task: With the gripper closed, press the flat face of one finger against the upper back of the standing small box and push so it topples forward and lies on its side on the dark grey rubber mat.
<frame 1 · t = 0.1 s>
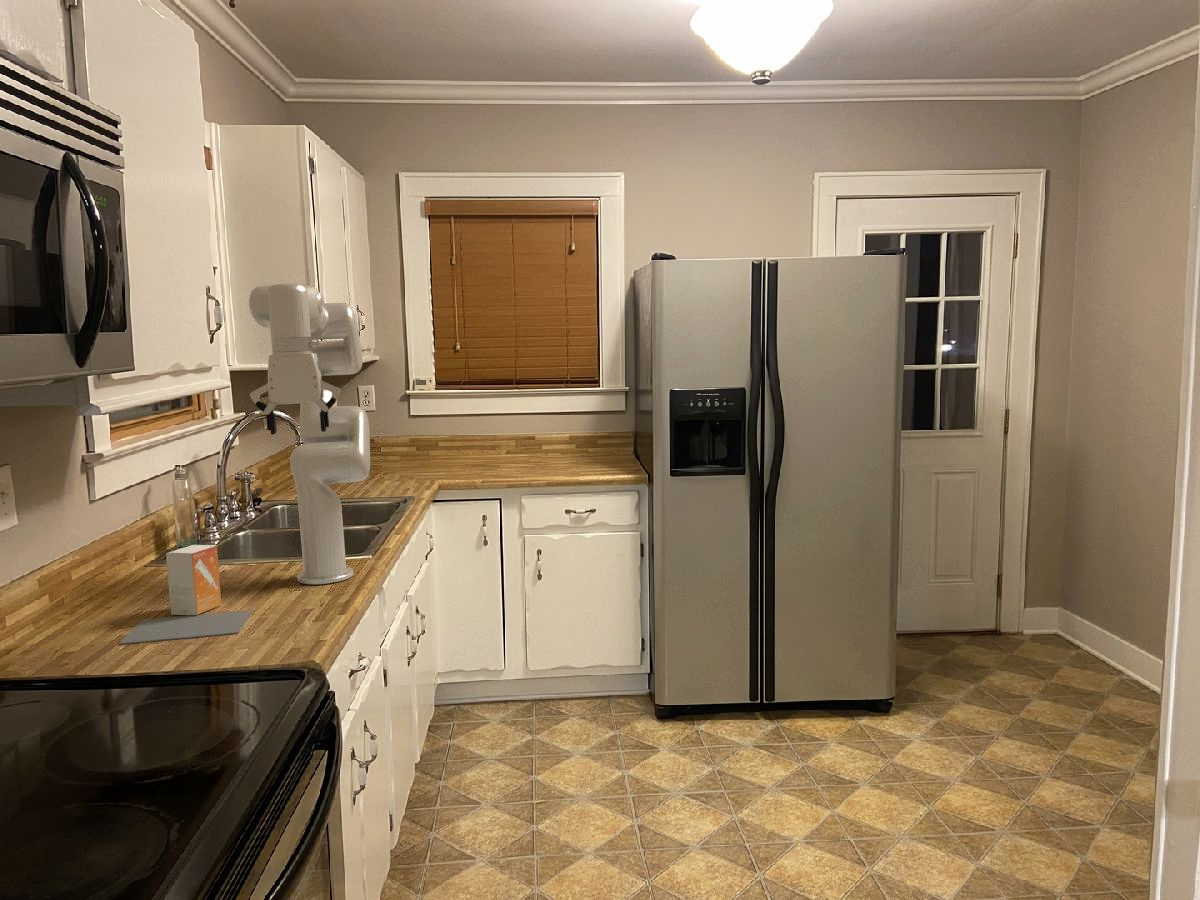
hand: (298, 432, 178), 37 cm above the worktop, tool pointing down, fingers open, 9 cm apart
small box: (197, 611, 184), on the worktop, touching mat
mat: (188, 627, 173), on the worktop
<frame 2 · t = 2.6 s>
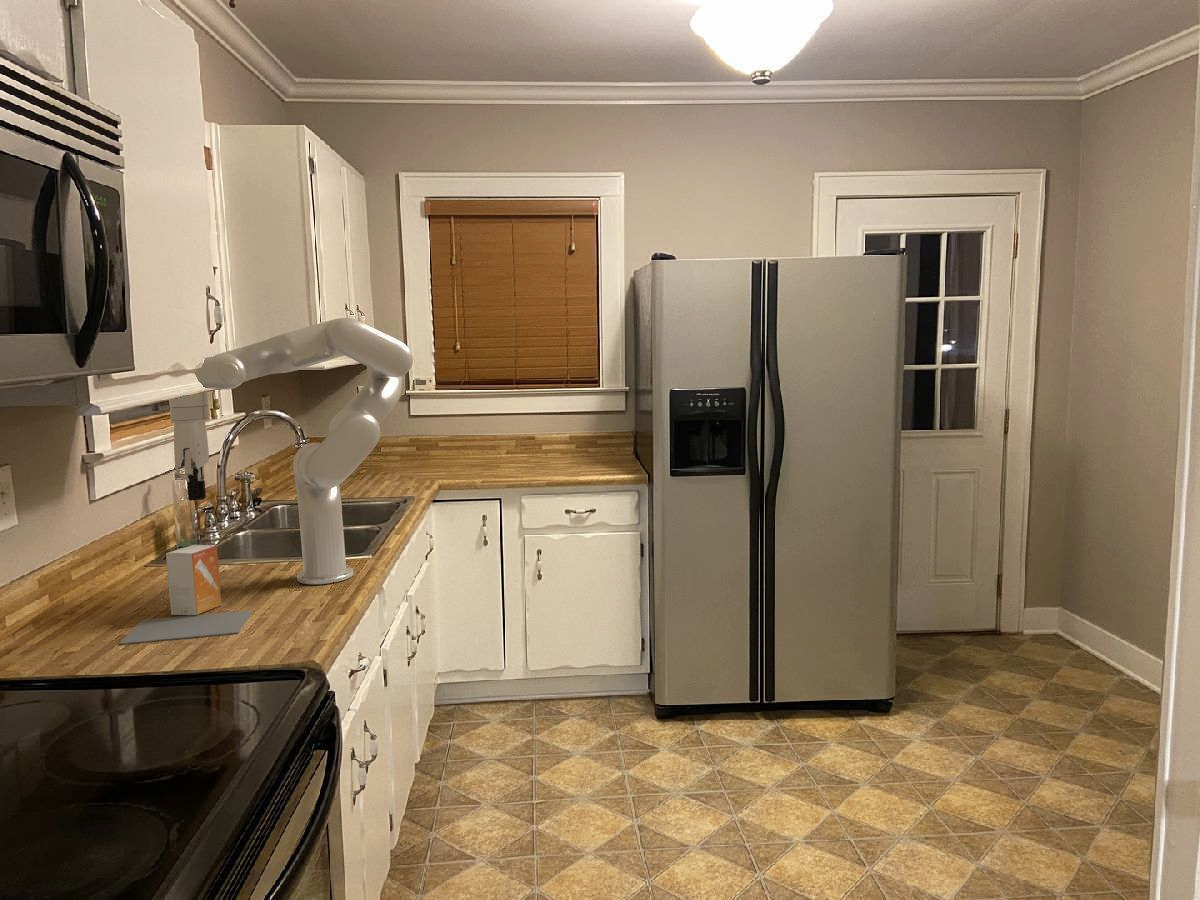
hand: (197, 499, 190), 22 cm above the worktop, tool pointing down, fingers closed
nothing on the worktop moved.
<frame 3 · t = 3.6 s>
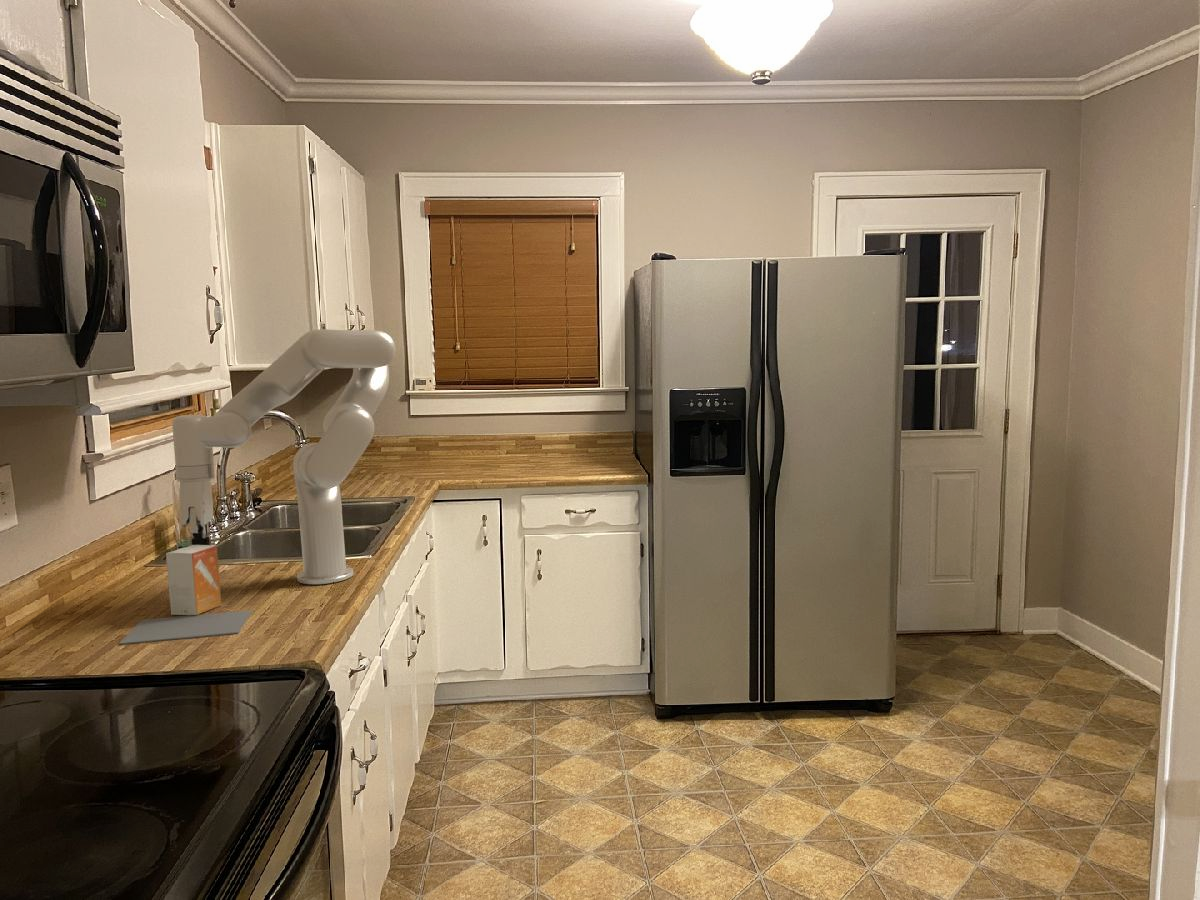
hand: (201, 555, 192), 9 cm above the worktop, tool pointing down, fingers closed
nothing on the worktop moved.
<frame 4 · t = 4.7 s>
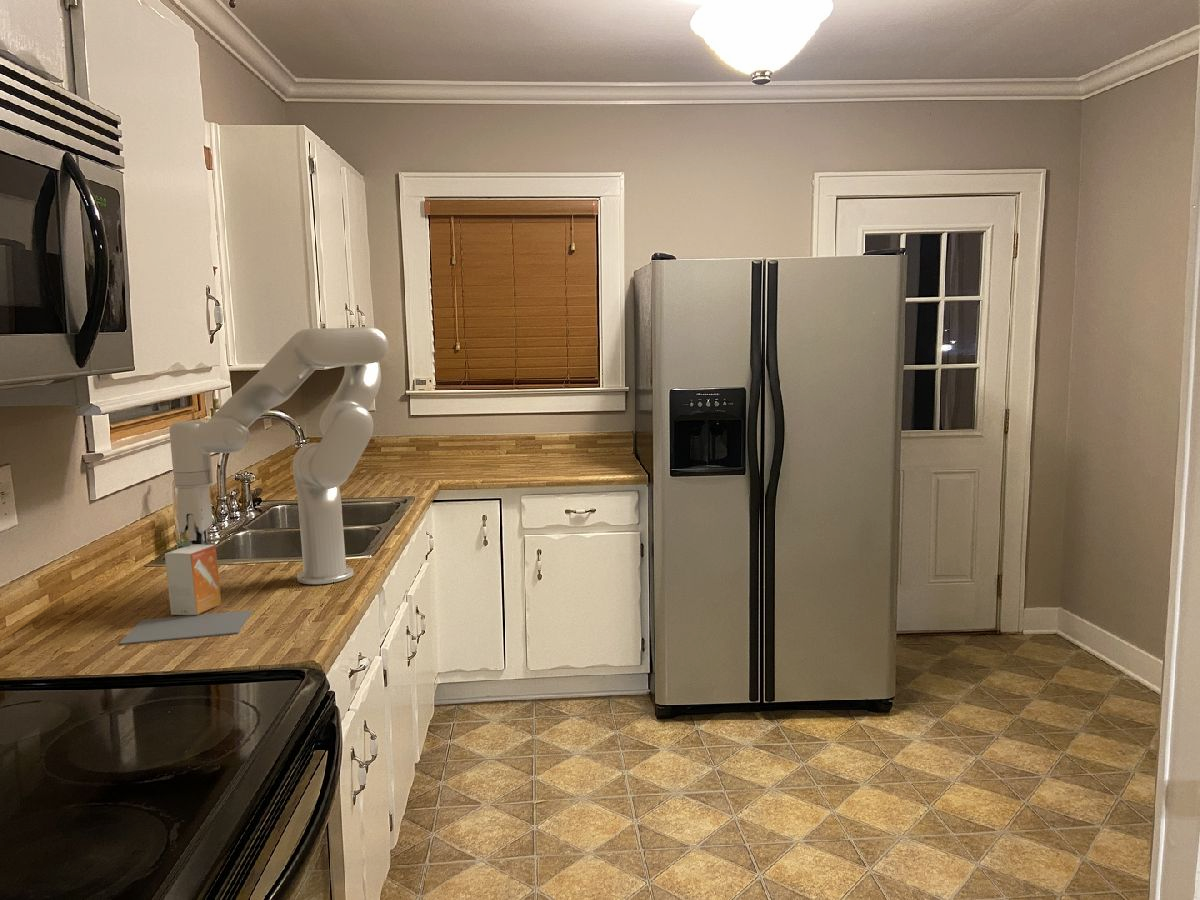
hand: (200, 562, 190), 8 cm above the worktop, tool pointing down, fingers closed
small box: (197, 610, 184), on the worktop, touching gripper, mat
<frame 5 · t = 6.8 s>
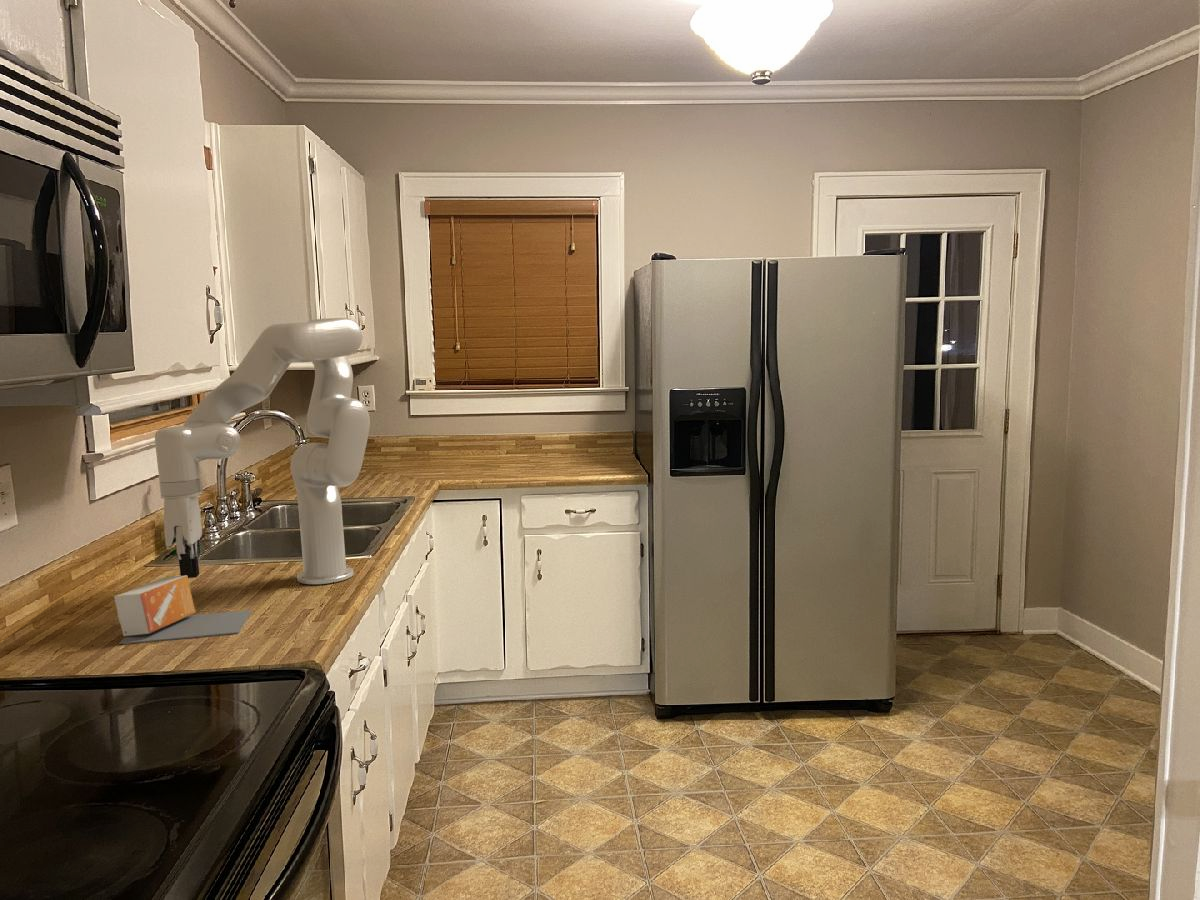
hand: (190, 576, 180), 8 cm above the worktop, tool pointing down, fingers closed
small box: (180, 594, 179), point 5 cm above the worktop, touching gripper, mat
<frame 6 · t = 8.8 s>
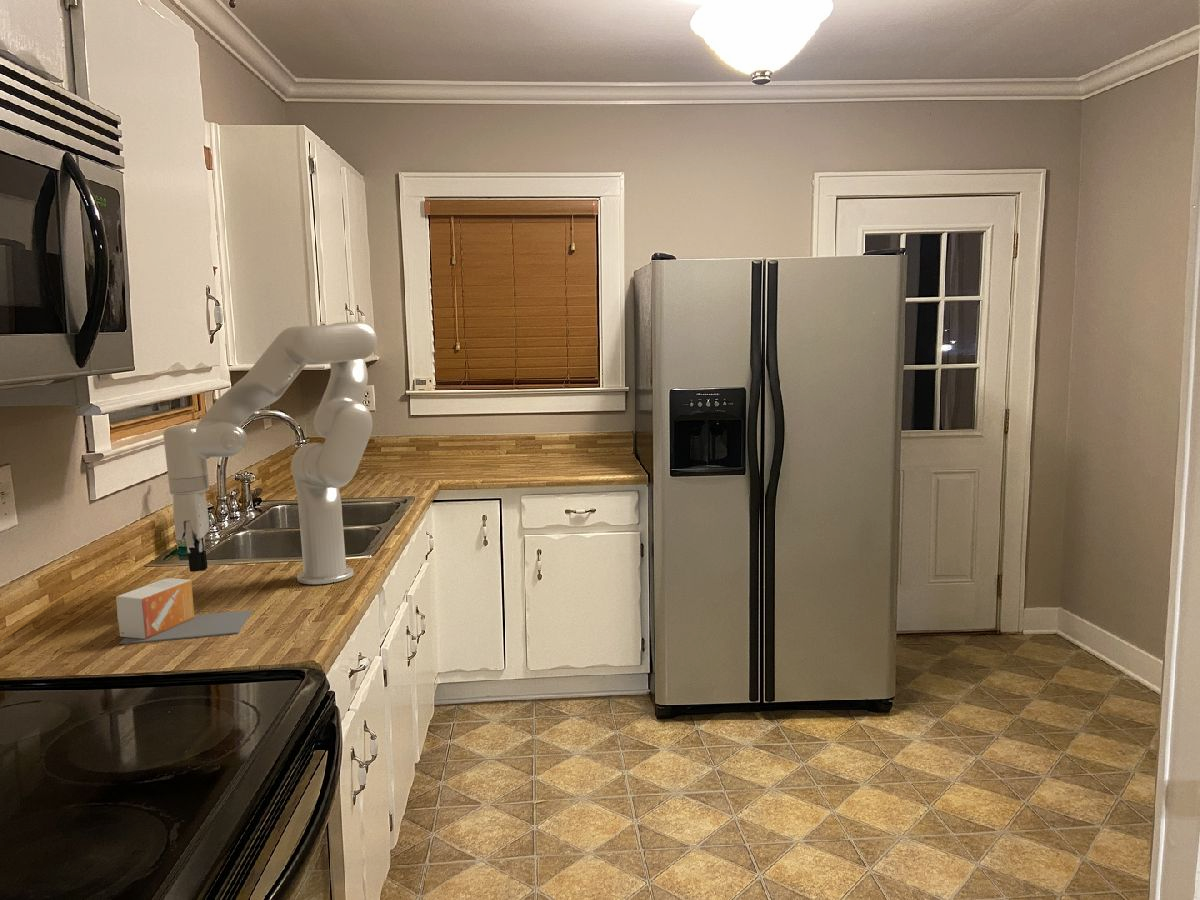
hand: (198, 570, 186), 8 cm above the worktop, tool pointing down, fingers closed
small box: (182, 597, 179), point 4 cm above the worktop, touching mat
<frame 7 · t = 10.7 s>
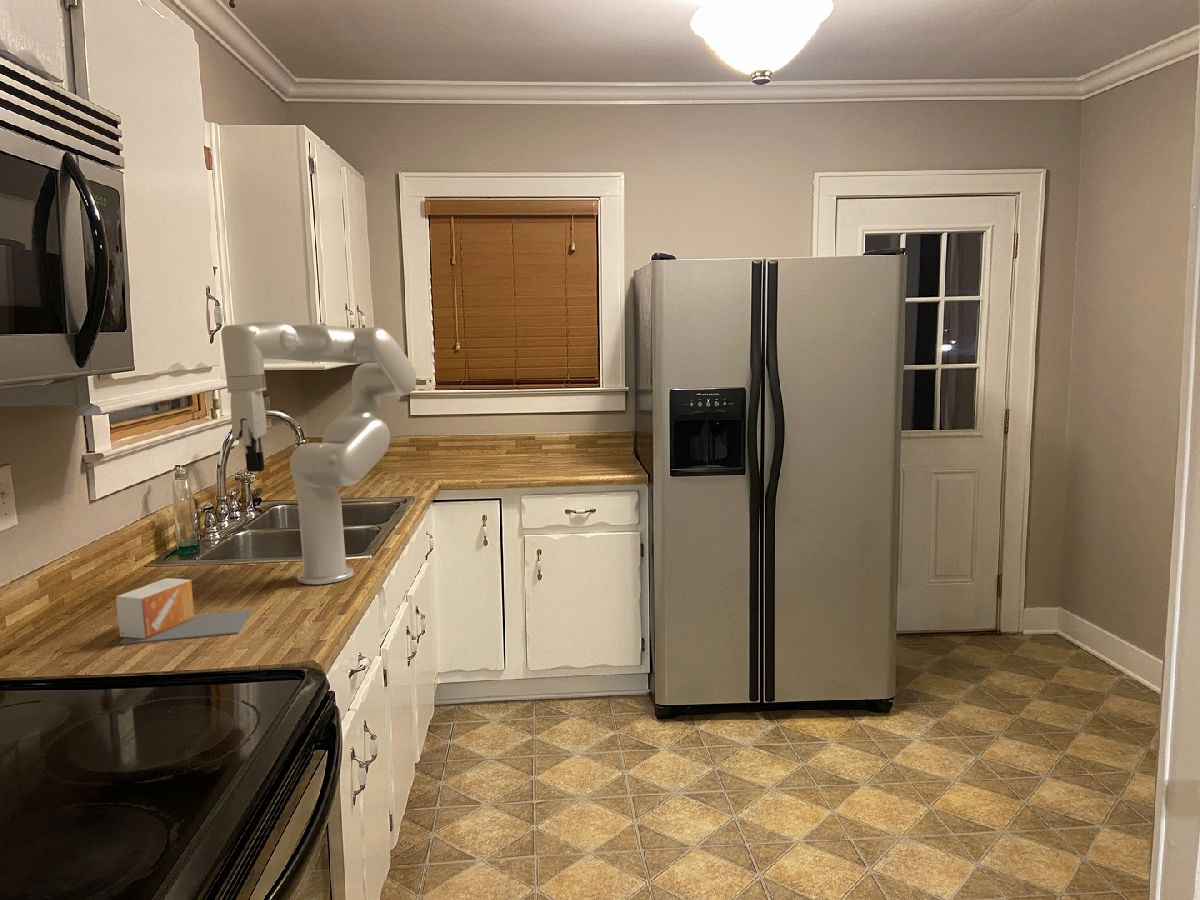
hand: (256, 470, 186), 28 cm above the worktop, tool pointing down, fingers closed
nothing on the worktop moved.
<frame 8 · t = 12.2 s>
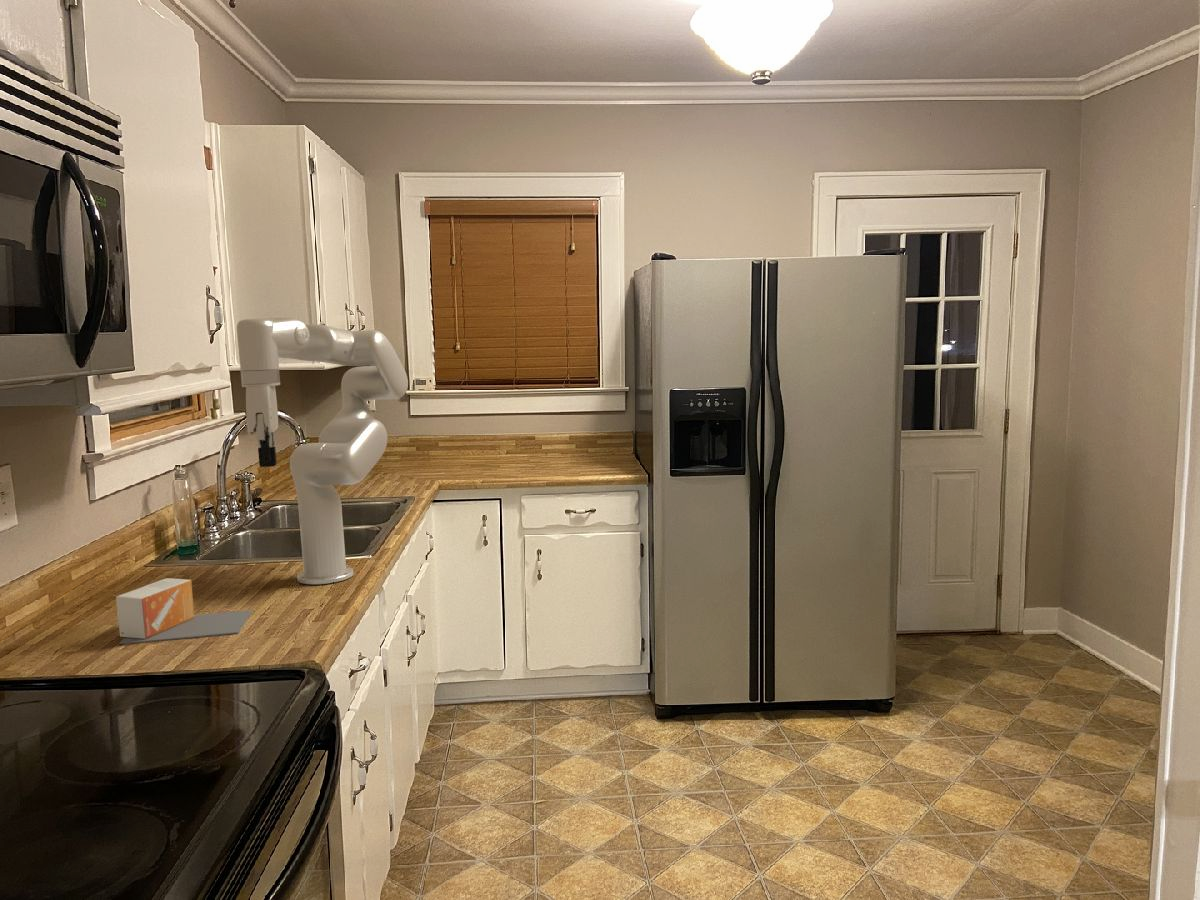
hand: (268, 465, 186), 29 cm above the worktop, tool pointing down, fingers closed
nothing on the worktop moved.
at the end: small box tilted 90°; small box touching mat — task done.
